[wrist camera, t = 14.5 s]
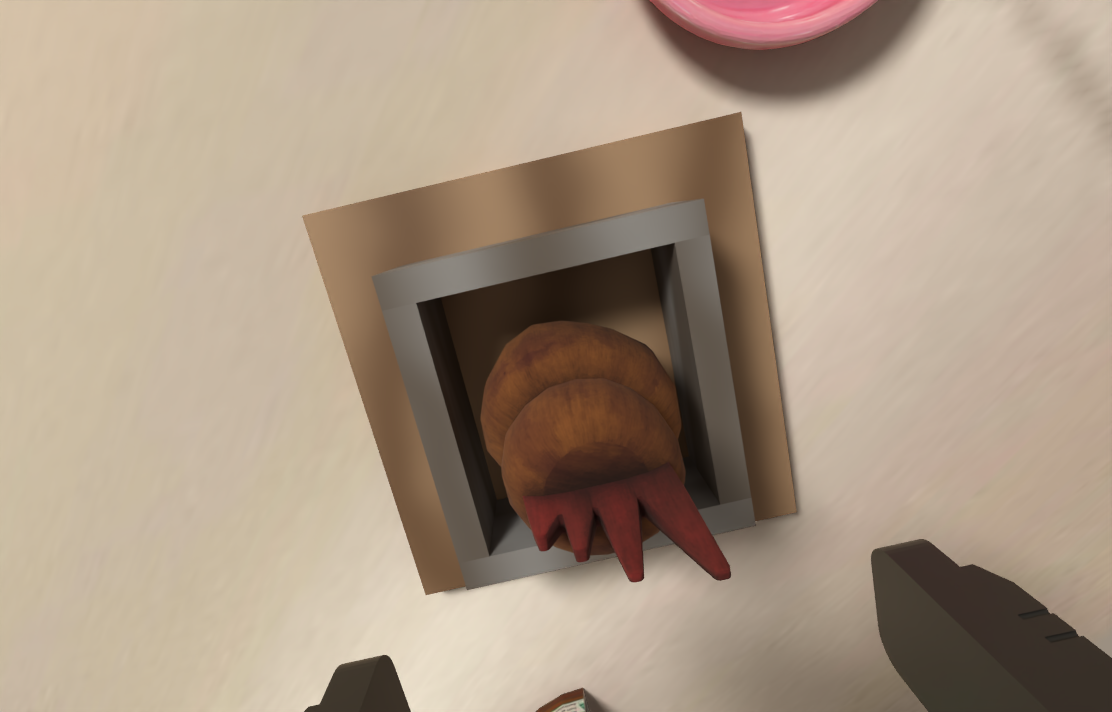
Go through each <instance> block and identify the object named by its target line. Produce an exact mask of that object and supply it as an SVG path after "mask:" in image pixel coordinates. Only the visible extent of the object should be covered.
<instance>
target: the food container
mask: <svg viewBox="0 0 1112 712" xmlns="http://www.w3.org/2000/svg"><path fill="white" fill-rule="evenodd" d="M536 712H590V711H589V707H588V704H587V700H586V696H585V693H584V689H583V688H581V689H577V690H574V691H571V692H568V693H565V694H562V695H560V696H559V697H557V698H555V699H554V700H552V701H550V702H549V703H547V704H545V705H544V706H542V707H540V708H539V709H538V710H537V711H536Z"/></svg>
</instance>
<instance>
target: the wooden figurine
mask: <svg viewBox="0 0 1112 712" xmlns="http://www.w3.org/2000/svg"><path fill="white" fill-rule="evenodd" d="M480 419H481V424H482V429H483V434H484V438H485V443H486V448H487V451H488V452H489V453H490V454H491V456H492V457H493V458H494V459H495V460H496V462H497V463H498V464H499V465H500V466H501V468H502V478H503V481H504V485H505V488H506V492H507V496H508V499H509V503H510V505H511V506H512V508H513V509H514V510H515V512H516V513H517V514H518V515H519V516H520V518H521V519H522V520H523V521H524V523H525V524H526V525H527V526H528V527H529V529H530V530H531V531H532V533H533V537H534V540H535V542H536V544H537V546H538V549H539V551H547V550H549V549H550V548H551V547H552V546H554V547H556V548H559V549H562V550H565V551H568V552H571V553H574V556H575V559H576V561H577V562H585V561H588V560H589V558H590V555H608V554H612V553H616V555H617V557H618V559H619V561H620V563H621V565H622V567H623V569H624V571H625V573H626V575H627V577H628V579H629V581H631V582H639V581H642V580H643V579H644V564H643V542H644V541H646V540H647V539H649V538H651V537H652V536H654V535H655V534H657V533H658V532H659V531H661V532H662V533H663V534H665V535H666V536H667V537H668V538H669V539H670V540H671V541H672V542H674V543H675V544H676V545H677V546H678V547H679V548H680V549H681V550H683V551H684V552H685V553H686V554H687V555H688V556H689V557H690V558H692V559H693V560H694V561H695V562H696V563H697V564H698V565H699V566H701V567H702V568H703V569H704V570H705V571H706V572H707V573H708V574H710V575H711V576H712V577H713V578H714V579H716V580H720V581H721V580H726V579H729V578H730V577H731V571H730V565H729V564H728V562H727V560H726V558H725V557H724V555H723V553H722V551H721V550H720V548H719V546H718V544H717V543H716V541H715V539H714V537H713V536H712V534H711V532H710V530H709V529H708V527H707V525H706V523H705V522H704V520H703V518H702V516H701V515H700V513H699V511H698V509H697V507H696V506H695V504H694V502H693V500H692V499H691V497H690V495H689V493H688V492H687V490H686V488H685V486H684V483H685V474H686V471H685V466H684V462H683V458H682V454H681V450H680V446H679V442H678V437H679V433H680V430H681V418H680V412H679V406H678V400H677V394H676V388H675V385H674V383H673V382H672V380H671V379H670V377H669V375H668V374H667V372H666V371H665V369H664V368H663V366H662V365H661V363H660V362H659V360H658V358H657V357H656V355H655V354H654V352H653V351H652V350H651V349H650V348H649V347H648V346H647V345H646V344H644V343H642V342H640V341H638V340H635V339H633V338H631V337H629V336H627V335H624V334H622V333H620V332H618V331H616V330H614V329H611V328H606V327H602V326H598V325H594V324H590V323H582V322H572V321H554V322H548V323H541V324H534V325H531V326H530V327H528V328H527V329H526V330H524V331H523V332H522V333H520V334H519V335H518V336H516V337H515V338H514V339H512V340H511V341H510V342H508V343H507V344H506V345H505V347H504V349H503V351H502V352H501V354H500V356H499V358H498V360H497V362H496V364H495V365H494V367H493V369H492V371H491V373H490V375H489V377H488V379H487V381H486V385H485V388H484V396H483V403H482V410H481V417H480Z"/></svg>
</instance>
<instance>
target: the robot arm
mask: <svg viewBox="0 0 1112 712" xmlns="http://www.w3.org/2000/svg"><path fill="white" fill-rule="evenodd" d="M871 564H872V573H873V582H874V591H875V600H876V609H877V619H878V627H879V633H880V637H881V640H882V643H883V646H884V648H885V650H886V653H887V655H888V657H889V659H890V661H891V663H892V664H893V666H894V668H895V669H896V671H897V672H898V673H899V675H900V676H901V677H902V679H903V680H904V681H905V682H906V684H907V685H908V686H909V688H910V689H911V690H912V691H913V693H914V694H915V695H916V696H917V698H918V699H919V700H920V702H921V703H922V704H923V705H924V707H925V708H926V709H927V710H928V712H1112V658H1111V657H1110V656H1108V655H1107V654H1106V653H1105V652H1103V651H1102V650H1101V649H1099V648H1098V647H1097V646H1095V645H1094V644H1093V643H1092V642H1090V641H1089V640H1088V639H1086V638H1085V637H1084V636H1081V637H1079V636H1078V634H1077V633H1076V630H1075V629H1073V628H1072V627H1071V626H1070V625H1068V624H1067V623H1066V622H1064V621H1063V620H1062V619H1060V618H1059V617H1058V616H1057V615H1055V614H1054V613H1053V614H1050V613H1049V612H1048V610H1047V608H1046V607H1045V606H1044V605H1042V604H1041V603H1040V602H1038V601H1037V600H1036V599H1035V598H1033V597H1032V596H1031V595H1029V594H1028V593H1027V592H1025V591H1024V590H1023V589H1022V588H1020V587H1019V586H1018V585H1016V584H1015V583H1014V582H1011V581H1009V580H1007V579H1005V578H1002V577H1000V576H998V575H996V574H993V573H991V572H989V571H987V570H984V569H982V568H980V567H978V566H975V565H973V564H972V565H968V566H963V567H959V566H958V565H957V564H956V563H955V562H953V561H952V560H951V559H950V558H949V557H947V556H946V555H945V554H944V553H943V552H941V551H940V550H939V549H938V548H937V547H935V546H934V545H933V544H932V543H930V542H929V541H927V540H924V539H919V540H914V541H910V542H905V543H900V544H896V545H891V546H887V547H882V548H878V549H875V550H873V552H872V555H871ZM304 712H411V711H410V708H409V706H408V703H407V700H406V697H405V694H404V692H403V689H402V686H401V683H400V680H399V678H398V675H397V672H396V669H395V667H394V664H393V662H392V660H391V659H390V657H389V656H387V655H382V656H377V657H373V658H368V659H363V660H359V661H354V662H350V663H345V664H342V665H340V666H338V668H337V669H336V670H335V672H334V674H333V676H332V678H331V681H330V683H329V685H328V687H327V689H326V692H325V694H324V696H323V698H322V700H321V703H320V704H319V705H315V706H310V707H308V708H307V709H306V710H305V711H304Z"/></svg>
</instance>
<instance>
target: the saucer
mask: <svg viewBox="0 0 1112 712" xmlns="http://www.w3.org/2000/svg"><path fill="white" fill-rule="evenodd" d="M649 1H650V2H652V3H653V4H654V5H655V6H656V7H657V8H658V9H659V10H660V11H661V12H662V13H663V14H664V15H666V16H667V17H668V18H669V19H671V20H672V21H673V22H675V23H676V24H678V25H679V26H681V27H682V28H684V29H686V30H687V31H689V32H691V33H693V34H695V35H697V36H699V37H701V38H704V39H706V40H709V41H712V42H714V43H717V44H721V45H725V46H730V47H736V48H743V49H754V50H765V49H776V48H782V47H788V46H793V45H797V44H801V43H804V42H807V41H810V40H813V39H815V38H818V37H820V36H823V35H825V34H827V33H829V32H831V31H833V30H835V29H837V28H839V27H841V26H842V25H844V24H846V23H848V22H849V21H851V20H852V19H854V18H856V17H857V16H858V15H860V14H861V13H863V12H864V11H865V10H867V9H868V8H869V7H871V6H872V5H873V4H874V3H876V2H877V1H878V0H649Z"/></svg>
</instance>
